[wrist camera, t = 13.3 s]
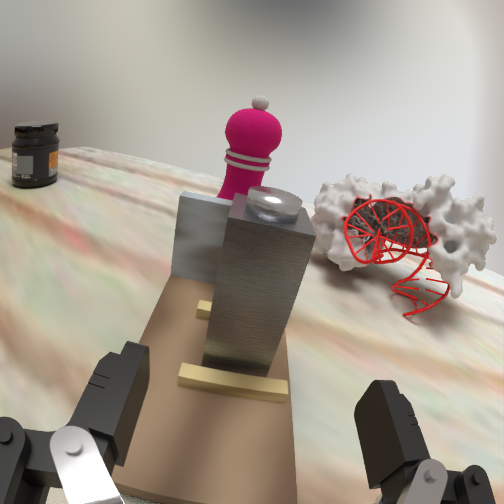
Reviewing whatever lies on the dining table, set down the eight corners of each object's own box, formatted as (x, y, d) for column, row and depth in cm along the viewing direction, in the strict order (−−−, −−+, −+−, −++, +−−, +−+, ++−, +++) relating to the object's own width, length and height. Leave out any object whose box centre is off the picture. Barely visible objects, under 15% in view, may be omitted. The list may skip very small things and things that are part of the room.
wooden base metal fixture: (95, 483, 12) (41, 385, 7) (172, 283, 32) (183, 191, 27) (286, 517, 13) (374, 445, 8) (276, 304, 32) (303, 216, 28)
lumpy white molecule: (345, 370, 35) (513, 304, 29) (301, 243, 28) (518, 170, 22) (328, 283, 53) (455, 239, 47) (293, 185, 45) (439, 139, 39)
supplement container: (64, 175, 56) (68, 120, 50) (46, 190, 47) (48, 126, 41) (25, 174, 53) (27, 120, 47) (3, 188, 44) (3, 127, 38)
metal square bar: (200, 368, 20) (231, 197, 15) (209, 327, 24) (238, 177, 19) (265, 379, 20) (322, 217, 15) (265, 337, 24) (309, 193, 19)
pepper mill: (244, 285, 34) (288, 99, 26) (186, 264, 36) (216, 86, 27) (261, 260, 41) (300, 105, 32) (211, 242, 42) (241, 93, 33)
